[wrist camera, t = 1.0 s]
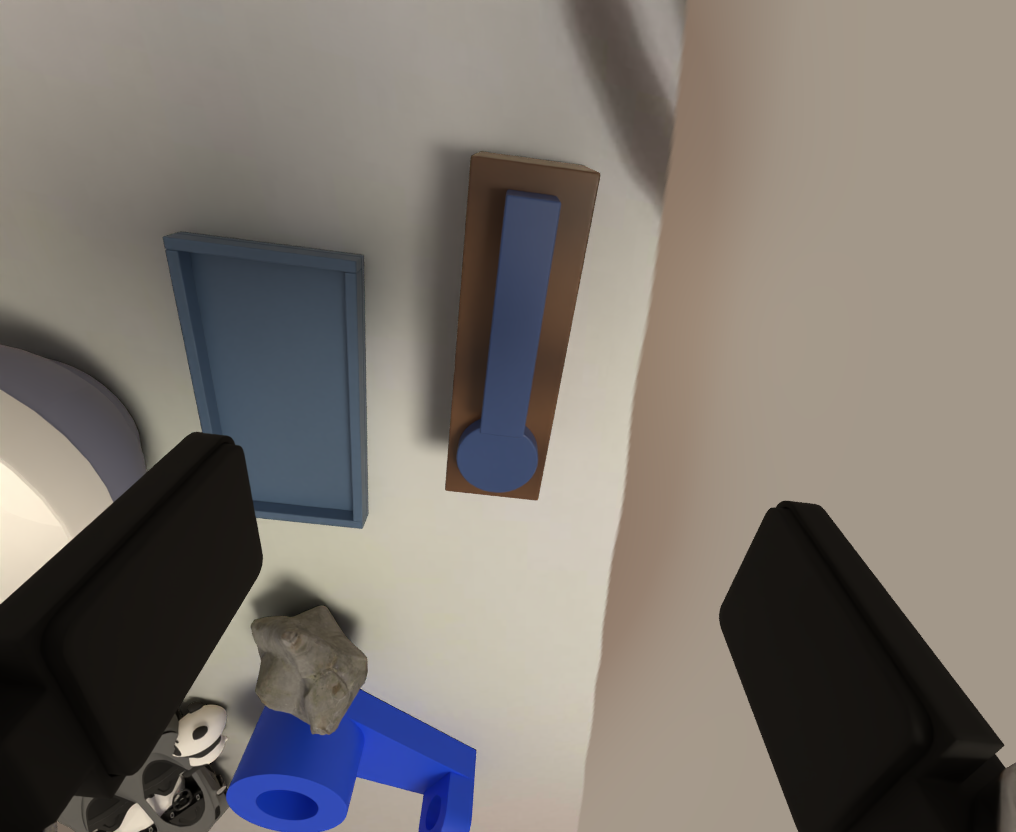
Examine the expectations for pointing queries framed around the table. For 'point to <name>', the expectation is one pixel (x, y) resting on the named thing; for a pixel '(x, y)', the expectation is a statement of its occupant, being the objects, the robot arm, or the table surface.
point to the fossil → (308, 667)
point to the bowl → (56, 459)
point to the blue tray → (280, 368)
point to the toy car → (165, 783)
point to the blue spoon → (512, 347)
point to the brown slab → (478, 292)
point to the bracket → (350, 769)
